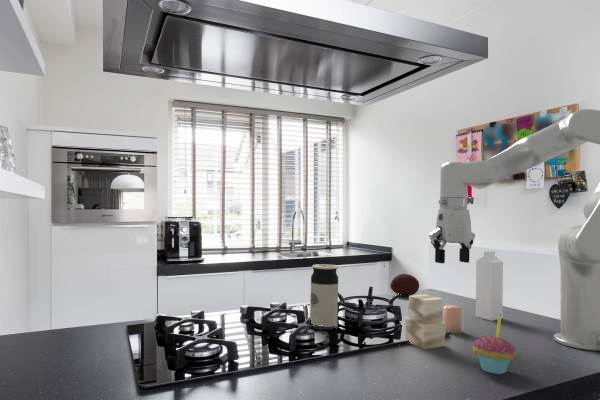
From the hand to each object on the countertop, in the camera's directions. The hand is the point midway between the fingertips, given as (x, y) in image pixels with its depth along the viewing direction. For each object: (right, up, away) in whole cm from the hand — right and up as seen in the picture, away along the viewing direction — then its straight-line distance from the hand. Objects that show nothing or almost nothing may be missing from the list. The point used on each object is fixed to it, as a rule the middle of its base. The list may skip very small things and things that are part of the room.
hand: (452, 262), depth 118 cm
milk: (+18, -21, +16) cm, 32 cm away
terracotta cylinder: (0, -20, -1) cm, 20 cm away
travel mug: (-38, -19, -1) cm, 42 cm away
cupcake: (-3, -19, -31) cm, 36 cm away
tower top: (-12, -13, -13) cm, 22 cm away
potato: (-1, -22, +49) cm, 54 cm away
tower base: (-12, -19, -13) cm, 26 cm away
